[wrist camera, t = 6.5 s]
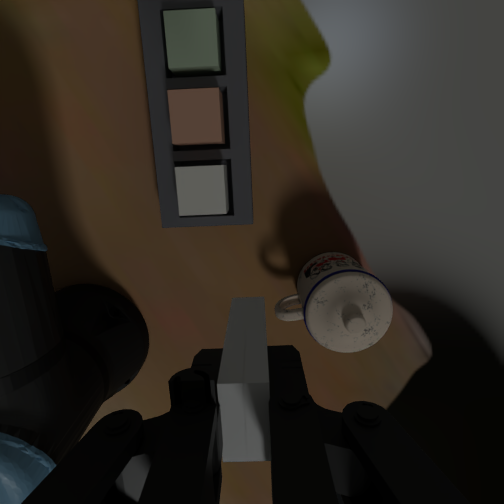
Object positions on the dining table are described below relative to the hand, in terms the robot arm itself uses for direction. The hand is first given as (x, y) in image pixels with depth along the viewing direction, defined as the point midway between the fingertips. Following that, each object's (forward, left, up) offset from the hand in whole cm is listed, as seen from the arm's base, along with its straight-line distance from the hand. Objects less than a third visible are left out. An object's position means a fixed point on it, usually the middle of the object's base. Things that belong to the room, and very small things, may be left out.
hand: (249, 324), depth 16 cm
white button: (-5, +5, -23) cm, 24 cm away
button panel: (-5, +12, -26) cm, 29 cm away
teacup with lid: (+8, -8, -27) cm, 29 cm away
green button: (-5, +19, -25) cm, 32 cm away
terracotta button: (-5, +12, -23) cm, 27 cm away
